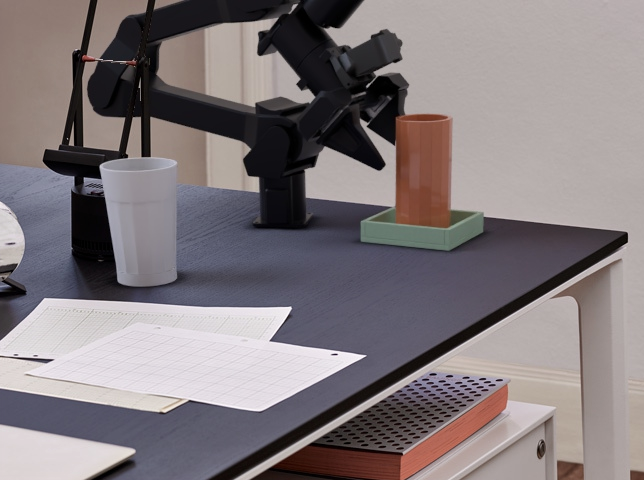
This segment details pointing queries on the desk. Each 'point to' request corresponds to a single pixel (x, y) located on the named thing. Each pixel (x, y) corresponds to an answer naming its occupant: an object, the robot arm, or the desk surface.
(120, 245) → the cup
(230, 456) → the desk surface
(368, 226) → the tray
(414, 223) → the tumbler
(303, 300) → the desk surface
